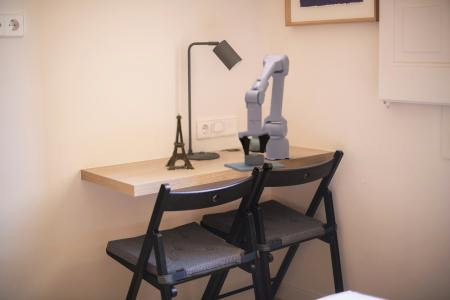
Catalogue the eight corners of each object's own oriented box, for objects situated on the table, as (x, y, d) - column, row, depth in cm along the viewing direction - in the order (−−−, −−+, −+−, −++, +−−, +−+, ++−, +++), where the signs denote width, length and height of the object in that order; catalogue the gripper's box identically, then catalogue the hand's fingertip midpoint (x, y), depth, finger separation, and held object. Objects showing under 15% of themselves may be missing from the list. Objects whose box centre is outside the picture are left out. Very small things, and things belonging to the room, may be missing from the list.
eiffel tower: (167, 170, 263) (166, 106, 259) (165, 165, 273) (164, 104, 270) (194, 169, 265) (194, 106, 261) (190, 164, 276) (190, 103, 272)
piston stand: (266, 161, 281) (266, 149, 280) (284, 167, 269) (285, 154, 268) (224, 166, 272) (224, 153, 271) (241, 171, 260) (241, 158, 259)
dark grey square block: (255, 162, 274) (255, 153, 274) (264, 164, 270) (264, 155, 269) (244, 164, 271) (244, 154, 271) (252, 166, 267) (252, 156, 266)
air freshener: (246, 149, 315) (246, 128, 313) (263, 148, 316) (263, 127, 315) (253, 153, 304) (253, 131, 302) (270, 152, 306) (270, 130, 304)
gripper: (263, 118, 275) (263, 150, 277) (233, 120, 267) (233, 154, 269) (273, 119, 269) (273, 153, 271) (243, 122, 261) (243, 156, 263)
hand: (254, 154), depth 270 cm, fingers open, 7 cm apart
